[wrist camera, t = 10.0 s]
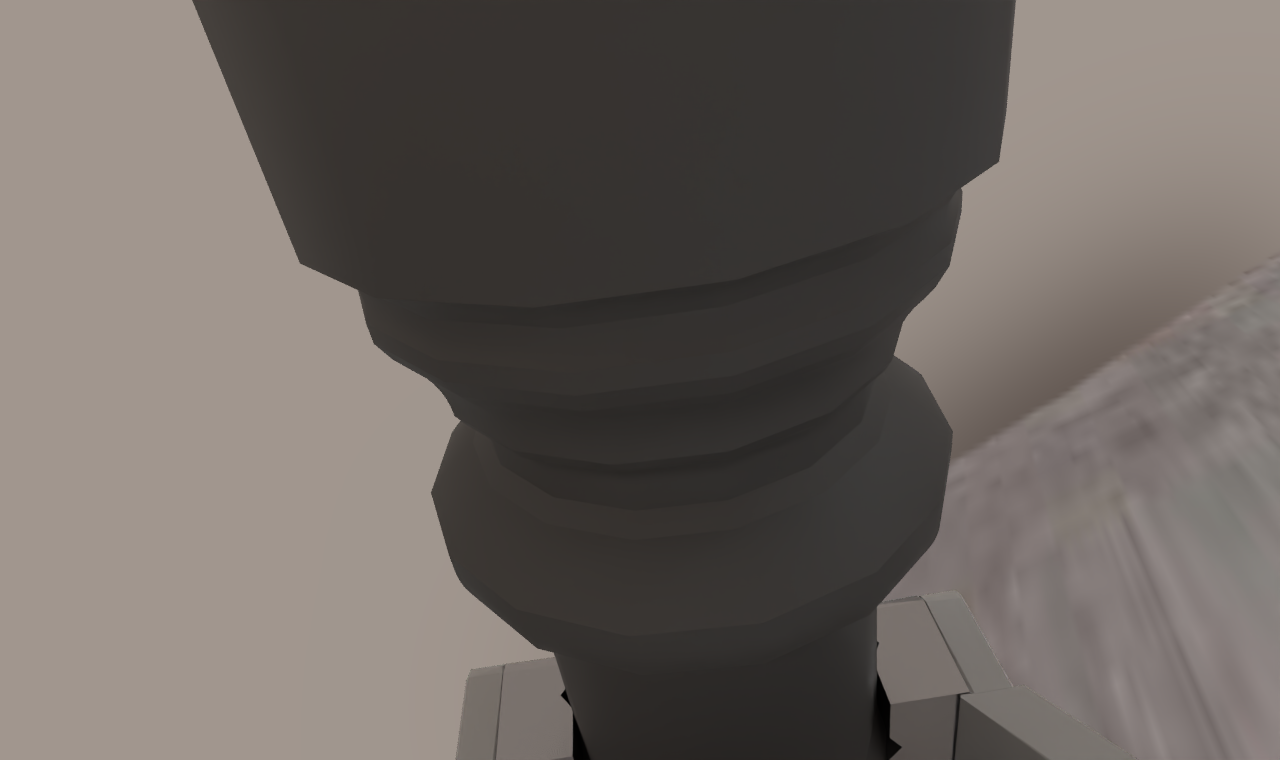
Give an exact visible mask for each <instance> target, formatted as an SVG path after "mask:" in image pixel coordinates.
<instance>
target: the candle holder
mask: <svg viewBox="0 0 1280 760" xmlns="http://www.w3.org/2000/svg"><path fill="white" fill-rule="evenodd" d="M192 1H193V3H194V5H195V8H196V10H197V12H198V15H199V17H200V20H201V23H202V25H203V27H204V30H205V32H206V35H207V37H208V40H209V42H210V44H211V47H212V49H213V52H214V54H215V57H216V59H217V62H218V64H219V66H220V69H221V71H222V74H223V76H224V79H225V81H226V84H227V86H228V88H229V91H230V93H231V96H232V98H233V100H234V103H235V105H236V108H237V110H238V113H239V115H240V117H241V120H242V123H243V125H244V127H245V130H246V132H247V135H248V137H249V140H250V142H251V145H252V147H253V149H254V152H255V154H256V157H257V159H258V162H259V164H260V167H261V169H262V171H263V174H264V176H265V179H266V181H267V183H268V186H269V188H270V191H271V193H272V196H273V198H274V201H275V203H276V206H277V208H278V210H279V213H280V215H281V218H282V220H283V223H284V225H285V227H286V230H287V232H288V235H289V237H290V240H291V242H292V245H293V247H294V249H295V252H296V254H297V257H298V259H299V262H300V263H301V264H303V265H305V266H307V267H309V268H311V269H313V270H316V271H318V272H320V273H322V274H325V275H327V276H329V277H331V278H333V279H336V280H337V281H340V282H342V283H344V284H346V285H348V286H351V287H353V288H355V289H357V290H358V292H359V296H360V299H361V304H362V308H363V312H364V316H365V320H366V324H367V327H368V329H369V332H370V335H371V337H372V340H373V343H374V344H375V345H376V346H377V347H378V348H380V349H381V350H382V351H383V352H384V353H386V354H387V355H388V356H389V357H391V358H392V359H393V360H395V361H396V362H398V363H400V364H402V365H403V366H405V367H407V368H409V369H411V370H412V371H415V372H416V373H418V374H420V375H422V376H423V377H425V378H427V379H428V380H429V381H431V382H432V383H433V384H434V385H435V386H436V387H437V388H438V389H439V390H440V391H441V392H442V394H443V395H444V396H445V397H446V399H447V401H448V403H449V404H450V406H451V408H452V411H453V413H454V416H455V417H457V418H458V419H459V420H461V421H460V423H459V424H458V425H457V427H456V428H455V429H454V431H453V432H452V434H451V437H450V440H449V443H448V446H447V449H446V451H445V454H444V457H443V460H442V463H441V466H440V469H439V471H438V474H437V477H436V481H435V483H434V486H433V489H432V492H431V494H432V497H433V501H434V504H435V508H436V511H437V515H438V518H439V522H440V525H441V528H442V532H443V536H444V539H445V543H446V546H447V549H448V553H449V556H450V559H451V562H452V564H453V567H454V569H455V572H456V574H457V576H458V578H459V580H460V581H461V583H462V584H463V586H464V587H465V588H466V589H467V590H468V591H469V592H470V593H471V594H472V595H474V596H475V597H476V598H477V599H479V600H480V601H481V602H482V603H483V604H485V605H486V606H487V607H488V608H489V609H491V610H492V611H493V612H494V613H495V614H497V615H498V616H499V617H500V618H501V619H503V620H504V621H505V622H506V623H507V624H509V625H510V626H511V627H512V628H513V629H515V630H516V631H517V632H518V633H519V634H521V635H522V636H523V637H524V638H525V639H527V640H528V641H529V642H530V643H531V644H533V645H534V646H535V647H536V648H538V649H542V650H546V651H550V652H554V655H555V658H556V661H557V664H558V667H559V670H560V673H561V677H562V680H563V683H564V686H565V689H566V692H567V696H568V699H569V702H570V705H571V708H572V711H573V714H574V717H575V720H576V723H577V726H578V730H579V733H580V737H581V743H582V749H583V760H887V755H886V729H885V725H884V722H883V719H882V716H881V714H880V711H879V709H878V705H877V606H878V605H879V604H880V603H881V602H882V601H883V599H884V598H885V597H886V596H887V595H888V594H889V593H890V591H891V590H892V589H893V588H894V587H895V586H896V585H897V584H898V582H899V581H900V580H901V579H902V578H903V577H904V576H905V574H906V573H907V572H908V571H909V570H910V569H911V568H912V567H913V565H914V564H915V563H916V562H917V561H918V560H919V559H920V557H921V556H922V555H923V554H924V553H925V552H926V551H927V550H928V548H929V547H930V546H931V545H932V543H933V542H934V540H935V538H936V536H937V533H938V530H939V526H940V521H941V514H942V508H943V501H944V495H945V488H946V482H947V475H948V469H949V463H950V456H951V448H952V433H953V431H952V429H951V427H950V426H949V424H948V422H947V420H946V418H945V417H944V415H943V413H942V411H941V409H940V407H939V406H938V404H937V402H936V400H935V398H934V397H933V395H932V393H931V391H930V389H929V388H928V386H927V384H926V382H925V380H924V378H923V377H922V375H921V374H920V373H919V372H917V371H916V370H915V369H913V368H912V367H910V366H909V365H907V364H906V363H904V362H903V361H901V360H900V359H898V358H897V357H895V356H894V351H895V347H896V344H897V341H898V337H899V334H900V330H901V327H902V323H903V321H904V320H905V318H906V317H907V315H908V314H909V313H910V312H911V311H912V309H913V308H914V307H915V306H917V305H918V304H919V303H920V302H921V301H922V300H923V299H924V298H925V297H926V296H927V295H928V294H929V293H930V292H931V291H932V290H933V289H934V288H935V287H936V285H937V284H938V282H939V281H940V279H941V278H942V276H943V275H944V273H945V272H946V270H947V269H948V267H949V265H950V261H951V256H952V252H953V247H954V243H955V238H956V234H957V229H958V224H959V220H960V215H961V208H962V189H961V187H963V186H964V185H966V184H967V183H969V182H970V181H971V180H973V179H974V178H976V177H977V176H979V175H980V174H982V173H983V172H984V171H986V170H987V169H989V168H990V167H992V166H993V165H994V164H996V163H998V162H999V157H1000V149H1001V143H1002V136H1003V129H1004V123H1005V116H1006V108H1007V96H1008V85H1009V84H1008V83H1009V73H1010V61H1011V48H1012V37H1013V25H1014V14H1015V2H1016V0H192Z"/></svg>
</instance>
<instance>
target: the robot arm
mask: <svg viewBox="0 0 1280 760" xmlns="http://www.w3.org/2000/svg"><path fill="white" fill-rule="evenodd" d="M877 705H878V709H879V711H880V714H881V716H882V719H883V722H884V725H885V729H886V755H887V760H1138V759H1137V758H1135V757H1134V756H1132V755H1130V754H1129V753H1127V752H1126V751H1124V750H1123V749H1121V748H1120V747H1118V746H1117V745H1115V744H1114V743H1112V742H1111V741H1109V740H1108V739H1106V738H1104V737H1103V736H1101V735H1100V734H1098V733H1097V732H1095V731H1094V730H1092V729H1091V728H1089V727H1088V726H1086V725H1085V724H1083V723H1082V722H1080V721H1078V720H1077V719H1075V718H1074V717H1072V716H1071V715H1069V714H1068V713H1066V712H1065V711H1063V710H1062V709H1060V708H1059V707H1057V706H1056V705H1054V704H1052V703H1051V702H1049V701H1048V700H1046V699H1045V698H1043V697H1042V696H1040V695H1039V694H1037V693H1036V692H1034V691H1033V690H1031V689H1030V688H1028V687H1026V686H1025V685H1021V686H1013V685H1012V683H1011V682H1010V680H1009V678H1008V676H1007V675H1006V673H1005V671H1004V669H1003V668H1002V666H1001V664H1000V662H999V660H998V659H997V657H996V655H995V653H994V652H993V650H992V648H991V646H990V644H989V643H988V641H987V639H986V637H985V636H984V634H983V632H982V630H981V629H980V627H979V625H978V623H977V621H976V620H975V618H974V616H973V614H972V613H971V611H970V609H969V607H968V605H967V604H966V602H965V600H964V598H963V597H962V595H961V594H960V593H958V592H957V591H956V590H951V591H945V592H939V593H933V594H927V595H921V596H919V597H918V596H911V597H906V598H900V599H895V600H889V601H884V602H881V603H880V604H879V605H878V606H877ZM456 760H583V749H582V743H581V737H580V733H579V730H578V726H577V723H576V720H575V717H574V714H573V711H572V708H571V705H570V702H569V699H568V696H567V692H566V689H565V686H564V683H563V680H562V677H561V673H560V670H559V667H558V664H557V661H556V658H555V657H553V658H546V659H539V660H531V661H525V662H517V663H510V664H505V665H497V666H491V667H485V668H478V669H471V671H470V673H469V675H468V678H467V680H466V686H465V694H464V701H463V708H462V716H461V723H460V731H459V738H458V746H457V753H456Z"/></svg>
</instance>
